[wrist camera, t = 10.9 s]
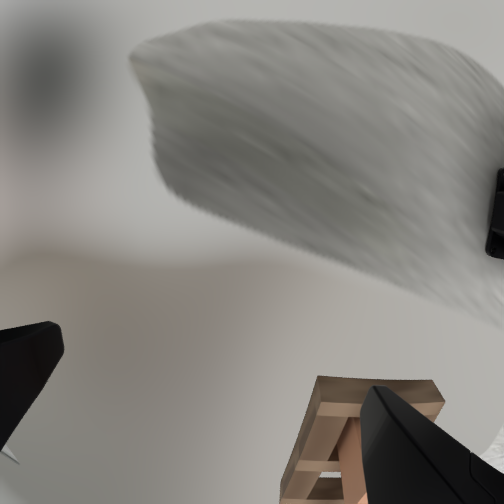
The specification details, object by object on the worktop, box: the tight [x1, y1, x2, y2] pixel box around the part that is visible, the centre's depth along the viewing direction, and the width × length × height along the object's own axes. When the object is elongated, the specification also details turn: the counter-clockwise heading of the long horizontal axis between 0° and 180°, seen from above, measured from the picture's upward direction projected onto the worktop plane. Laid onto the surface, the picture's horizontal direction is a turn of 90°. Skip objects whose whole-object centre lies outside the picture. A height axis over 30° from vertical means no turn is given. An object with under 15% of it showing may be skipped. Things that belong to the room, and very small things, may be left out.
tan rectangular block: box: [337, 417, 368, 504], centre depth 17 cm, size 4×4×9 cm
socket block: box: [279, 376, 445, 504], centre depth 20 cm, size 10×15×3 cm
